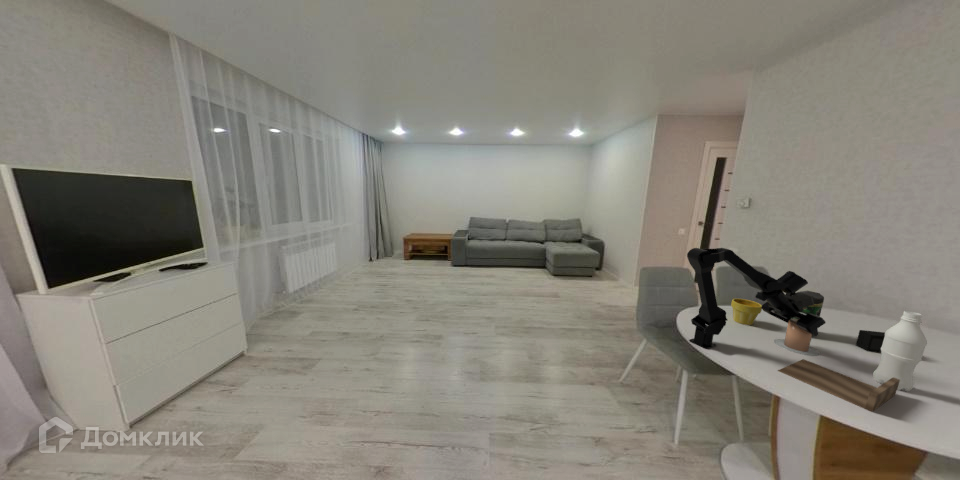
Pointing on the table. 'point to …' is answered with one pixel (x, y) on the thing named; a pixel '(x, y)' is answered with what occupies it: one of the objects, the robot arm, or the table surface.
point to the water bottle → (901, 351)
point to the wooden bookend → (842, 384)
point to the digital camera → (870, 340)
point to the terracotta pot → (797, 337)
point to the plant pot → (745, 311)
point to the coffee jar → (817, 306)
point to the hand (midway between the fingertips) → (804, 329)
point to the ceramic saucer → (809, 353)
